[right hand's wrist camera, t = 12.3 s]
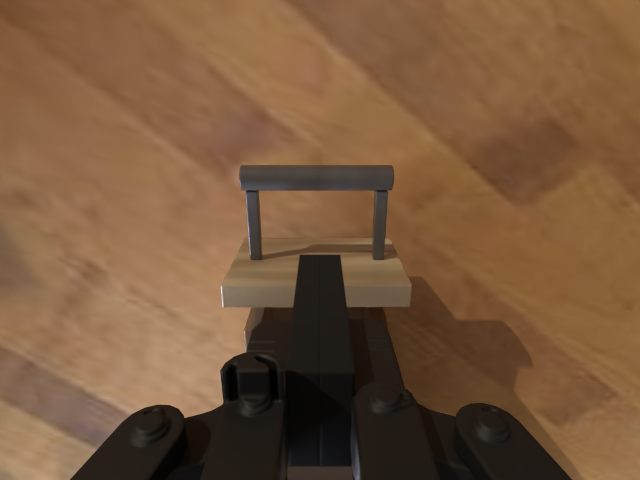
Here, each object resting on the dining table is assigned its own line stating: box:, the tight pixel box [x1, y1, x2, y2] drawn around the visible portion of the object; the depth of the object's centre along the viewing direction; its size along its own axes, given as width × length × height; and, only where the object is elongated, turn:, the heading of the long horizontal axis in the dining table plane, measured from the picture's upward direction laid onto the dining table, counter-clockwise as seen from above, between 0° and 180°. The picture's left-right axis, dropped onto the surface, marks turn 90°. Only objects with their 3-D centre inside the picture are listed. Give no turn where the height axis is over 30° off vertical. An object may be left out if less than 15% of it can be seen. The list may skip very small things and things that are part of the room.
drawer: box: [221, 165, 412, 350], centre depth 23 cm, size 20×9×6 cm, turn 0°
